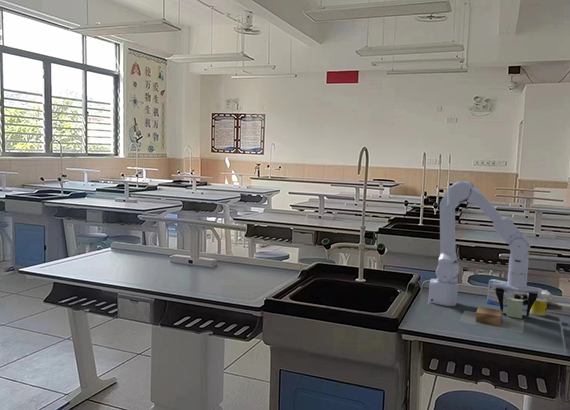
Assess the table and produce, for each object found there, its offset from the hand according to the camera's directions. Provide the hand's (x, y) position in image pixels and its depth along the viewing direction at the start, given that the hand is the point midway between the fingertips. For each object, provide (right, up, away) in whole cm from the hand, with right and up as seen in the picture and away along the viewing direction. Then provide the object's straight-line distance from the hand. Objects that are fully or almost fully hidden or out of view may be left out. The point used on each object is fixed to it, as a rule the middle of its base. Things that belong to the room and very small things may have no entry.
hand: (514, 313), depth 162 cm
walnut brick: (-11, -1, -7) cm, 13 cm away
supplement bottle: (+9, -2, +2) cm, 9 cm away
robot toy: (+15, -1, +21) cm, 25 cm away
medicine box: (+2, -1, +15) cm, 15 cm away
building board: (-10, -2, -7) cm, 13 cm away
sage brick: (0, -2, 0) cm, 2 cm away
